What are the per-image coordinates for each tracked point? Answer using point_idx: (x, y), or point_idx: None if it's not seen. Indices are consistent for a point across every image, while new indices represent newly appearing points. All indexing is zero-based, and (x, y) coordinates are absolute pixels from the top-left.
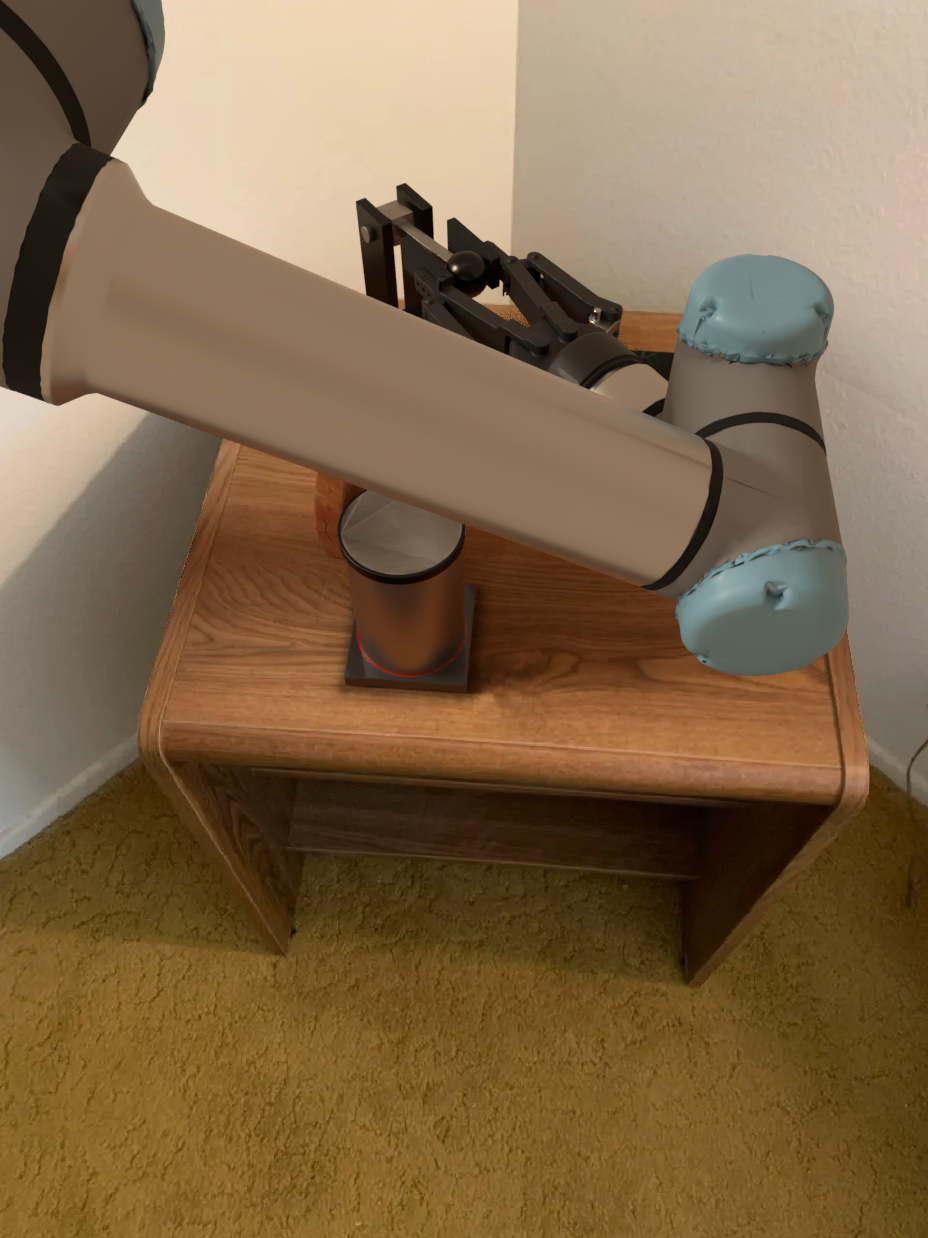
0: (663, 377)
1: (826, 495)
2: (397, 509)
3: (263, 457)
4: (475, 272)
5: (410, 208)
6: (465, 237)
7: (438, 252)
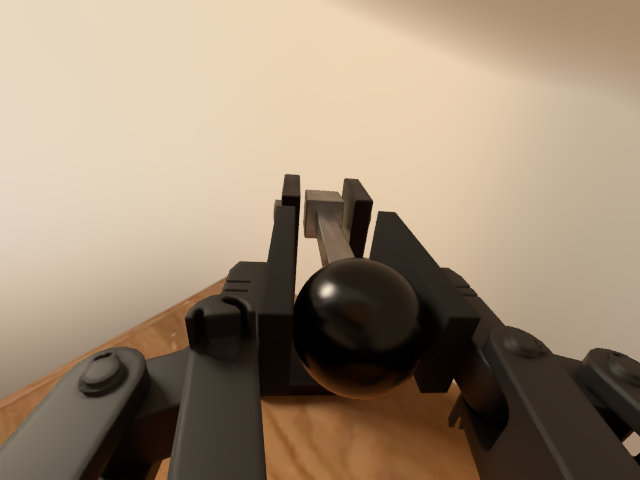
0: None
1: None
2: None
3: (10, 432)
4: (373, 335)
5: (347, 202)
6: (397, 243)
7: (332, 253)
